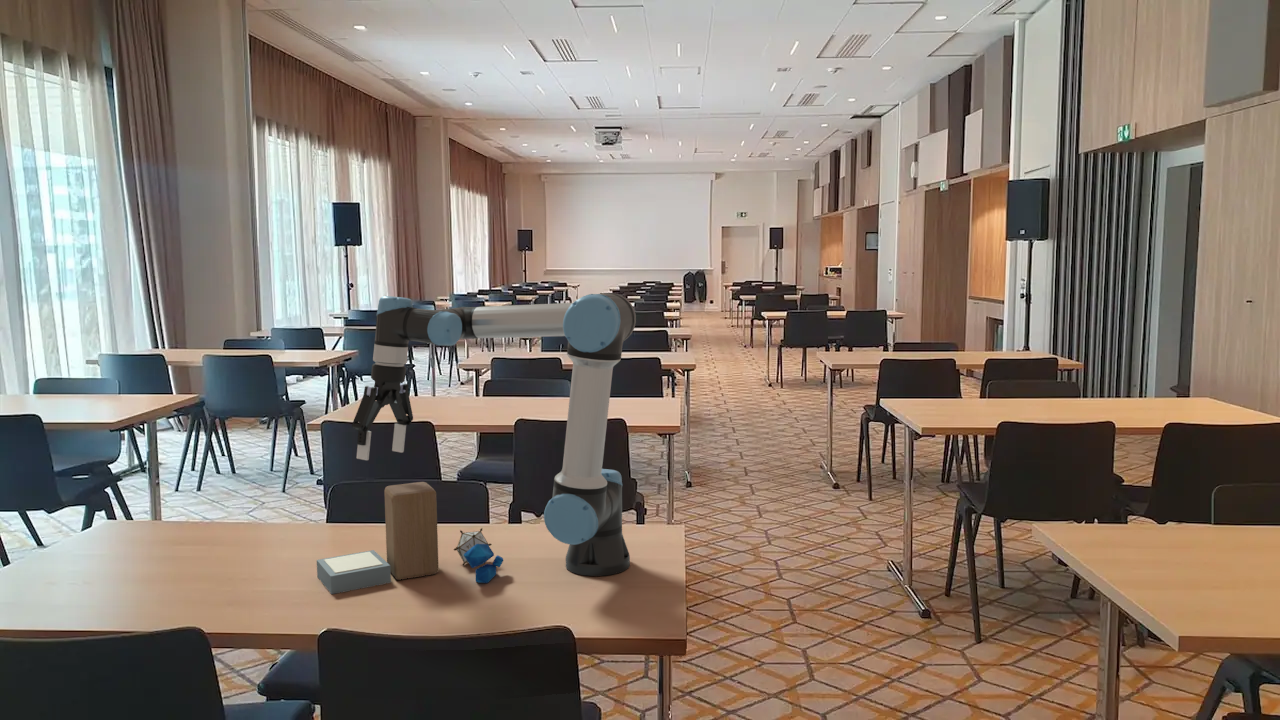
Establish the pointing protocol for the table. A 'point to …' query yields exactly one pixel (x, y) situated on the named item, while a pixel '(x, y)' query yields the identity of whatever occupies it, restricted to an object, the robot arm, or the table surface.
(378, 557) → the base
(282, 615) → the table surface
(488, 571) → the blue faceted figurine
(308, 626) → the table surface
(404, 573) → the wooden block
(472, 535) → the game die
